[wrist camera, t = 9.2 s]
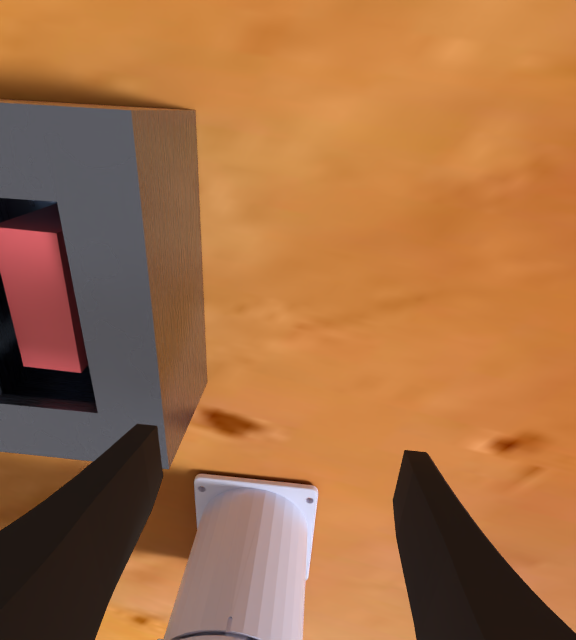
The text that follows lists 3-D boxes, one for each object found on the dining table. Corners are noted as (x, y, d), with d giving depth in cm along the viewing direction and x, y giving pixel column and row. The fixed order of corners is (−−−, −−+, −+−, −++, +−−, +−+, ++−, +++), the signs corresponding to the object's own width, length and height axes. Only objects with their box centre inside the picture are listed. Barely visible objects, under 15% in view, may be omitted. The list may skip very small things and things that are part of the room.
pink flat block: (130, 320, 22) (80, 373, 18) (84, 315, 22) (23, 366, 18) (118, 205, 19) (56, 233, 15) (66, 200, 20) (-11, 226, 15)
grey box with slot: (207, 382, 24) (168, 469, 18) (39, 367, 25) (-50, 446, 19) (195, 110, 18) (130, 110, 12) (-31, 97, 18) (-197, 91, 12)
